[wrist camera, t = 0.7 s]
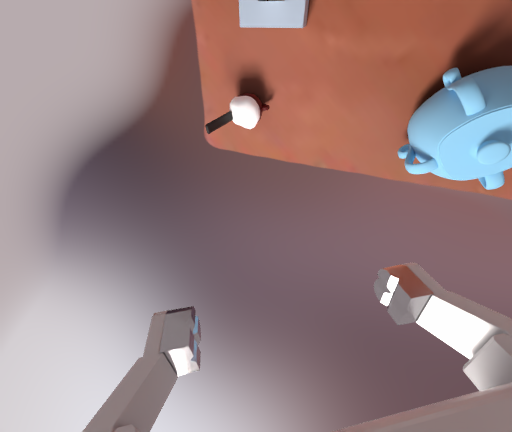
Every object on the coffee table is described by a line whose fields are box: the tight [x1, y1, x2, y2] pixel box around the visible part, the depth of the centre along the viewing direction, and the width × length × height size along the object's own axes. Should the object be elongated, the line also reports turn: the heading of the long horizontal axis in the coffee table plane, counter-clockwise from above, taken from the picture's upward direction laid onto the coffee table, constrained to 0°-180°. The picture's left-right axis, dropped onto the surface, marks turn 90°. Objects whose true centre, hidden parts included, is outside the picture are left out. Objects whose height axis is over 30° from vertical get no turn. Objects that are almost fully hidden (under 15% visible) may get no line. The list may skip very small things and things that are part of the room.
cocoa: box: [205, 93, 269, 134], centre depth 44 cm, size 10×6×12 cm, turn 78°
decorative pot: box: [398, 66, 512, 189], centre depth 35 cm, size 16×16×14 cm
